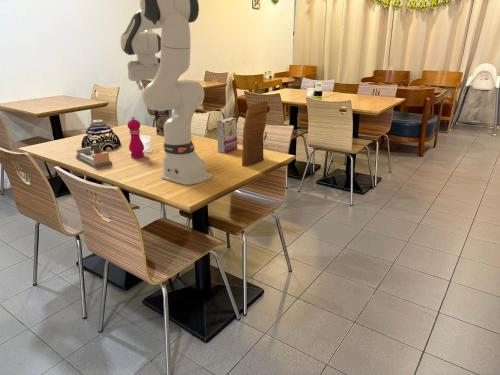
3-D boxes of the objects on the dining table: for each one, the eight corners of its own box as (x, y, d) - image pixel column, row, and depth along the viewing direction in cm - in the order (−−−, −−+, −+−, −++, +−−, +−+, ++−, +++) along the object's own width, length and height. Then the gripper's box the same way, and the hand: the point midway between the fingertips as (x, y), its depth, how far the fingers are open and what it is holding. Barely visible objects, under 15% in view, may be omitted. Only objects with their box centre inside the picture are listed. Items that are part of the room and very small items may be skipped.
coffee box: (156, 134, 233) (153, 108, 227) (160, 132, 239) (158, 106, 233) (170, 135, 232) (168, 108, 226) (174, 132, 238) (172, 106, 232)
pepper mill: (140, 158, 186) (136, 118, 179) (127, 158, 188) (122, 117, 180) (147, 154, 193) (143, 115, 185) (134, 154, 194) (129, 115, 187)
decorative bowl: (89, 154, 195) (85, 126, 190) (76, 146, 209) (72, 120, 204) (126, 147, 208) (123, 120, 202) (111, 140, 222) (108, 115, 216)
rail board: (112, 164, 178) (110, 152, 176) (95, 168, 173) (93, 155, 171) (92, 154, 193) (90, 143, 191) (76, 158, 188) (74, 146, 186)
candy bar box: (230, 147, 205) (229, 117, 199) (237, 148, 203) (237, 118, 197) (217, 152, 197) (216, 120, 191) (224, 153, 194) (224, 121, 188)
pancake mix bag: (271, 158, 186) (272, 100, 175) (247, 168, 171) (247, 106, 161) (260, 156, 189) (260, 99, 179) (236, 166, 175) (235, 104, 165)
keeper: (104, 160, 178) (102, 144, 175) (97, 162, 176) (94, 146, 173) (99, 158, 181) (97, 142, 178) (92, 160, 179) (89, 144, 176)
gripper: (130, 61, 180) (133, 91, 185) (167, 59, 193) (169, 87, 198) (124, 60, 184) (127, 90, 189) (160, 59, 198) (162, 86, 203)
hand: (149, 88), depth 194 cm, fingers open, 8 cm apart
